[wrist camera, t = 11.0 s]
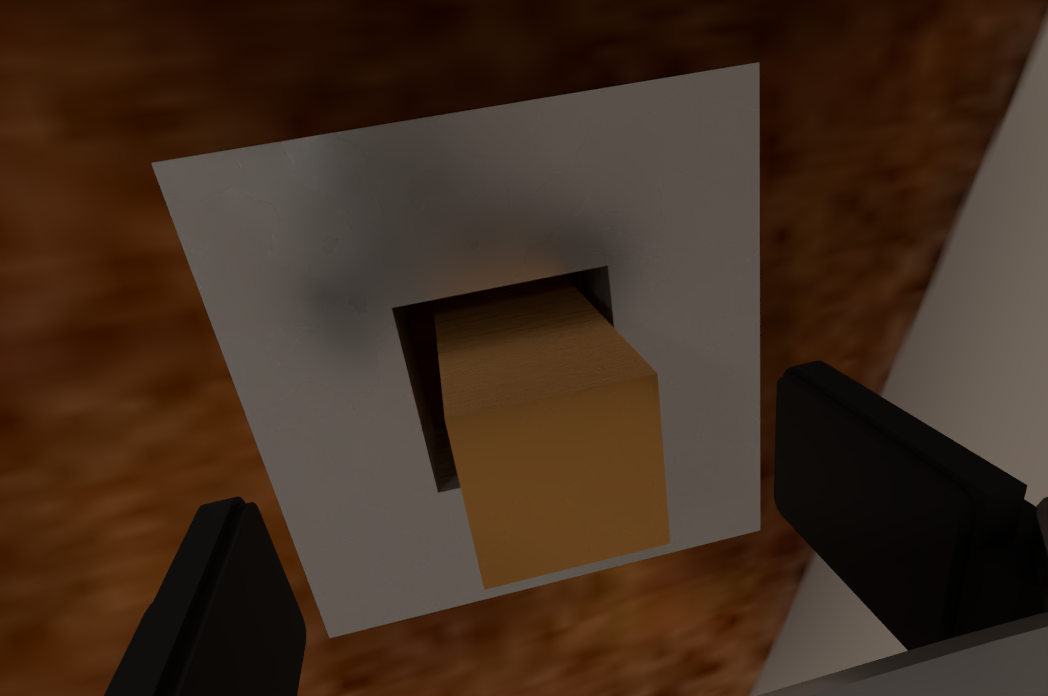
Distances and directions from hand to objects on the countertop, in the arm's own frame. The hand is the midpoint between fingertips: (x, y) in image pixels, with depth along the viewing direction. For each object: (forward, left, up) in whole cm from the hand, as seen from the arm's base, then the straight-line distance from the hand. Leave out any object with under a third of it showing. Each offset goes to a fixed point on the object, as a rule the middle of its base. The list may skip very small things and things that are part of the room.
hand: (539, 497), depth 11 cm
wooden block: (+1, +1, -10) cm, 10 cm away
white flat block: (+1, +1, -10) cm, 10 cm away
